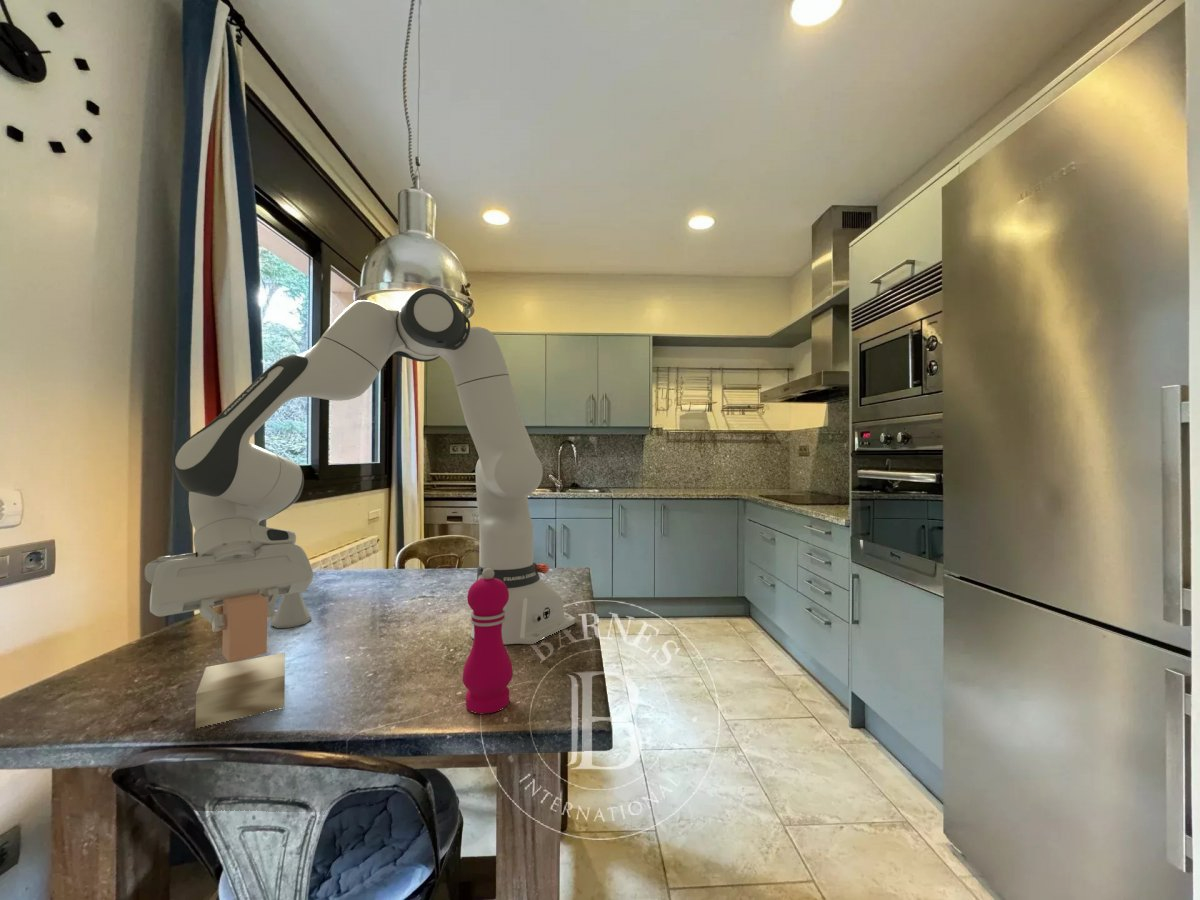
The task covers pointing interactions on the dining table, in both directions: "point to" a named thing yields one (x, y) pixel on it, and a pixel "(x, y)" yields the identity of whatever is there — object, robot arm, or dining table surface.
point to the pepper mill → (487, 647)
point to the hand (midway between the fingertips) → (245, 623)
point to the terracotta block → (245, 627)
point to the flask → (291, 612)
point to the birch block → (240, 689)
